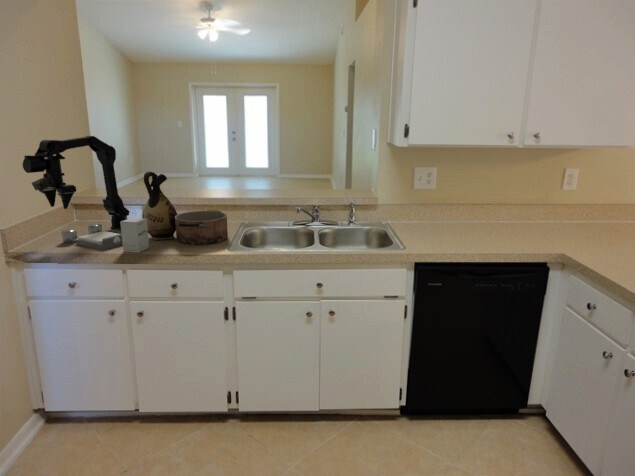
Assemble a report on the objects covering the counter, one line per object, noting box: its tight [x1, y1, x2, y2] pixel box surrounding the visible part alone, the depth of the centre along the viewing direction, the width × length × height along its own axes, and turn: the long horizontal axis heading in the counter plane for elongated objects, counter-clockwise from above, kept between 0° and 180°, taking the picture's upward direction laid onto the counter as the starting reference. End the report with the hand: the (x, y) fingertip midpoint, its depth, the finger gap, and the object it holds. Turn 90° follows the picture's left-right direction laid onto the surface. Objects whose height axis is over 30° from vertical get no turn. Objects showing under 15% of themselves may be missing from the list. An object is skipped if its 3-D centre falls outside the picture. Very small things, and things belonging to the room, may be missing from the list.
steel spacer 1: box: [61, 228, 78, 245], centre depth 180 cm, size 6×6×5 cm
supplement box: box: [120, 217, 150, 254], centre depth 169 cm, size 7×7×13 cm
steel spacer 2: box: [87, 223, 103, 235], centre depth 191 cm, size 6×6×5 cm
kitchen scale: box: [75, 230, 123, 251], centre depth 179 cm, size 14×17×4 cm
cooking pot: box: [175, 209, 229, 246], centre depth 188 cm, size 30×22×11 cm
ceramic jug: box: [141, 171, 178, 241], centre depth 185 cm, size 17×15×30 cm
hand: (59, 207), depth 179 cm, fingers open, 9 cm apart
